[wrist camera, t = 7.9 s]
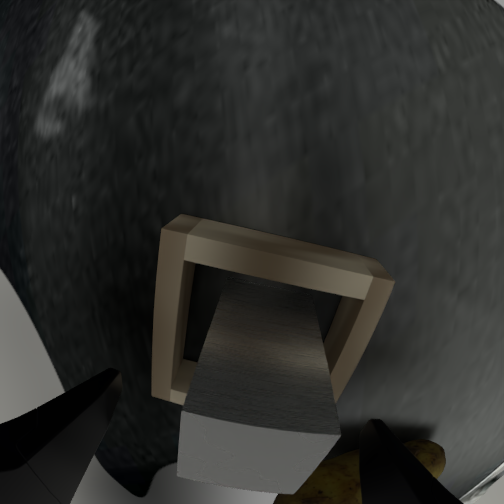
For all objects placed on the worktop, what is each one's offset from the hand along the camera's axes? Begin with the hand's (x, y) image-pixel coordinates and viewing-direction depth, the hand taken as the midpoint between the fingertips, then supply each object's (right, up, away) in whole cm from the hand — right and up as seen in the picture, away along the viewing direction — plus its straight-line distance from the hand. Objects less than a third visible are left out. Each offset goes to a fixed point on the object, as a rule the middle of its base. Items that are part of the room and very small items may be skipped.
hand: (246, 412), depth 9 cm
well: (+1, +2, +5) cm, 6 cm away
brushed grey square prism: (+1, +2, +5) cm, 6 cm away
